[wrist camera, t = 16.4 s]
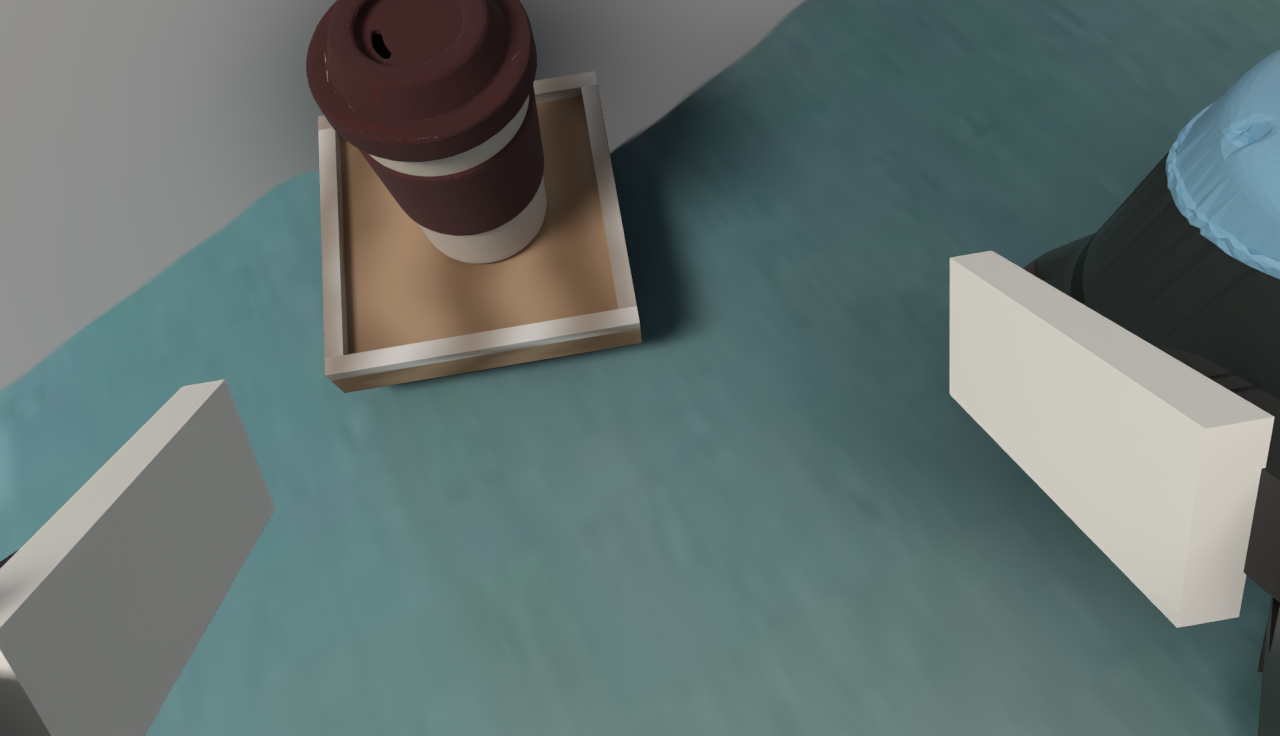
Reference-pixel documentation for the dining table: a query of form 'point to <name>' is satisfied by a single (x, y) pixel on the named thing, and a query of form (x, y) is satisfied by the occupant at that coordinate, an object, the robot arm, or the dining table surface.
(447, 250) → the coffee cup
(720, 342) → the dining table surface
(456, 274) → the shallow square tray
